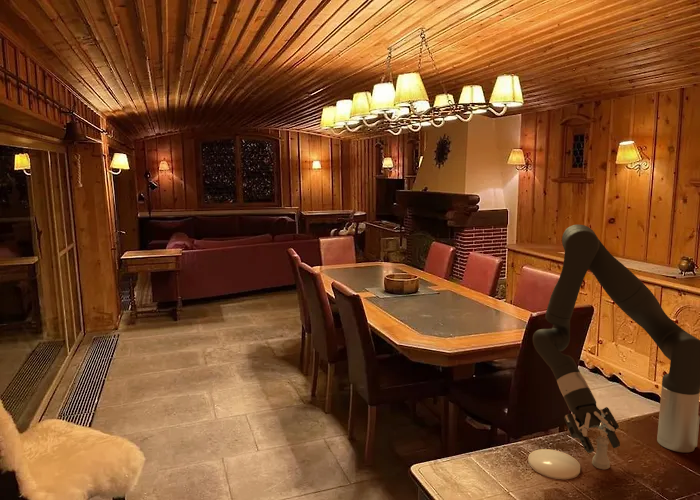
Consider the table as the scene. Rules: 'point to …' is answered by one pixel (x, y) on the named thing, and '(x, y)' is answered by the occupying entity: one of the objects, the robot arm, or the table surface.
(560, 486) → the table surface
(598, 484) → the table surface
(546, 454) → the cream plate
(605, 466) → the rook chess piece
